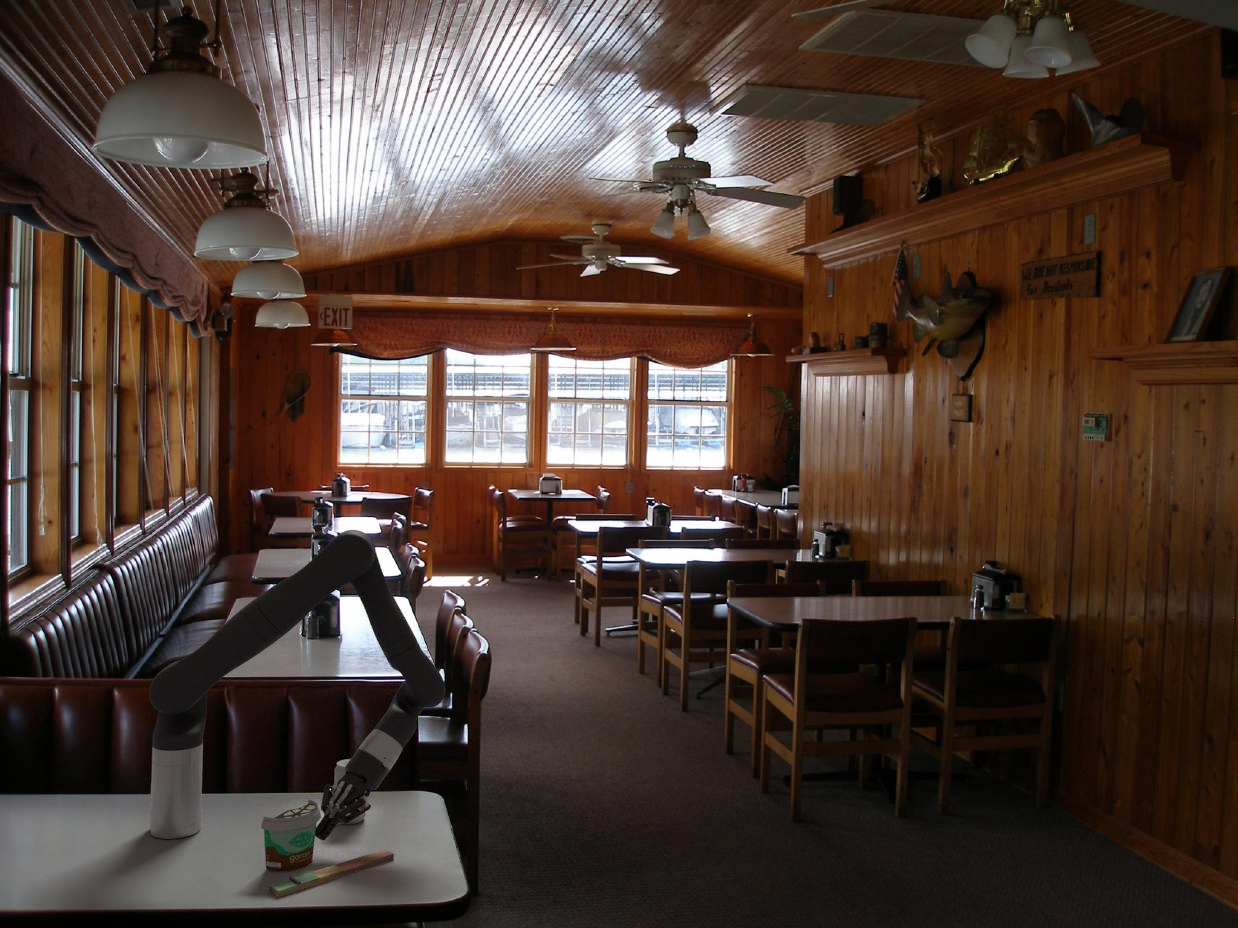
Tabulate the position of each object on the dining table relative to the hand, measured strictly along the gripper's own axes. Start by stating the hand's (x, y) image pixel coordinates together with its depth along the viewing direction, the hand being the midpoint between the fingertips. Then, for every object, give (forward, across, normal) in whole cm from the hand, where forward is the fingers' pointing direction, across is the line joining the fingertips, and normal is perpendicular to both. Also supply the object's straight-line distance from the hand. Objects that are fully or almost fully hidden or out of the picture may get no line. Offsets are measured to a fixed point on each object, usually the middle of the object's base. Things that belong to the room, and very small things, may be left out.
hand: (318, 837), depth 200 cm
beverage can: (-8, -13, +14) cm, 21 cm away
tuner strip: (+4, +9, +1) cm, 10 cm away
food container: (+6, 0, 0) cm, 6 cm away
